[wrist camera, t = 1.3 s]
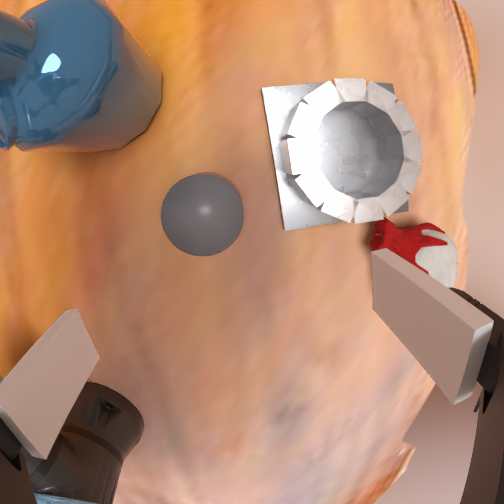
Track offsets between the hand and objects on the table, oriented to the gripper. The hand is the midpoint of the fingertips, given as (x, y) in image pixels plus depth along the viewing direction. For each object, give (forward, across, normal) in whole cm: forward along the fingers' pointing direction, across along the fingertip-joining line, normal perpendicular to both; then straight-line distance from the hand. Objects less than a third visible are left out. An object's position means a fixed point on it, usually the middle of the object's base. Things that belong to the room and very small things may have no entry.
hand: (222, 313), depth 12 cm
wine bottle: (+22, -11, +17) cm, 30 cm away
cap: (+22, -2, +2) cm, 22 cm away
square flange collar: (+22, +14, +5) cm, 27 cm away
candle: (+22, +21, -9) cm, 32 cm away
